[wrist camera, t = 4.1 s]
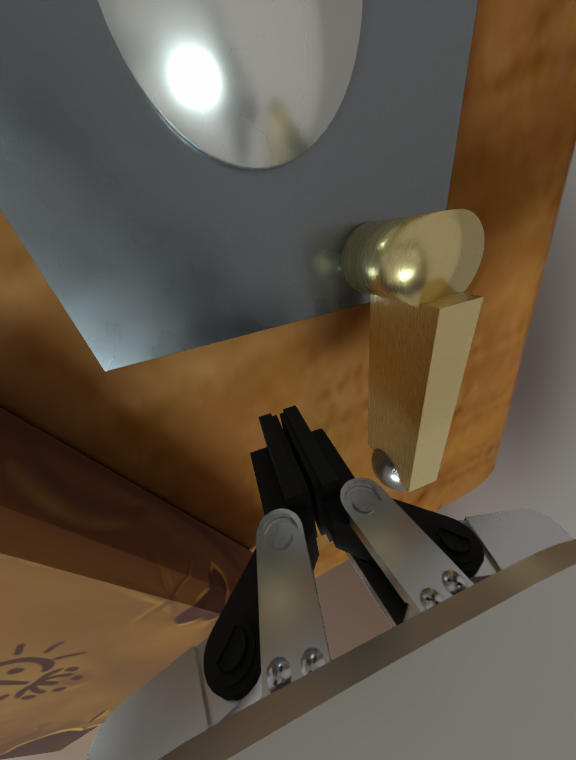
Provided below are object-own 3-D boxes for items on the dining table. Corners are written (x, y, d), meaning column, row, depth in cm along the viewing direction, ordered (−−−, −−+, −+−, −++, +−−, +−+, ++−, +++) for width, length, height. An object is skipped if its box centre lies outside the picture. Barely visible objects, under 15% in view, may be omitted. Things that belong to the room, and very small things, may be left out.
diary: (251, 540, 23) (265, 618, 18) (88, 646, 23) (59, 750, 19) (-38, 365, 10) (-241, 471, 6) (-398, 602, 10) (-902, 905, 6)
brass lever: (339, 226, 10) (435, 214, 6) (399, 215, 10) (526, 196, 6) (348, 450, 17) (395, 516, 13) (384, 437, 17) (440, 496, 13)
